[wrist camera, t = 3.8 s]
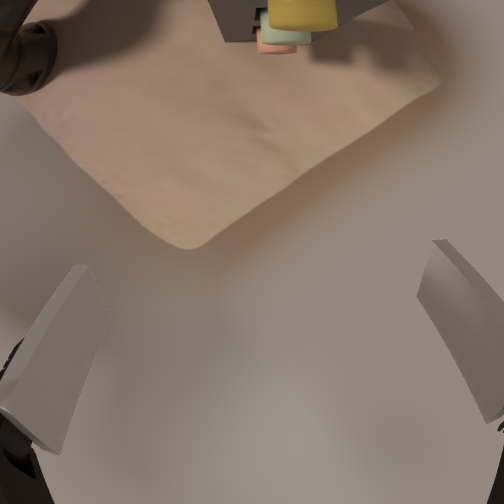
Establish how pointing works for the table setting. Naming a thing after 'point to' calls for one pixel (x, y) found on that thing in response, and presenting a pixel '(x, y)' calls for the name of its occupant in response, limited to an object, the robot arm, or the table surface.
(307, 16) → the mustard button
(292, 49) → the terracotta button
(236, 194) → the table surface
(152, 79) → the table surface
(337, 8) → the button panel
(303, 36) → the sage button
